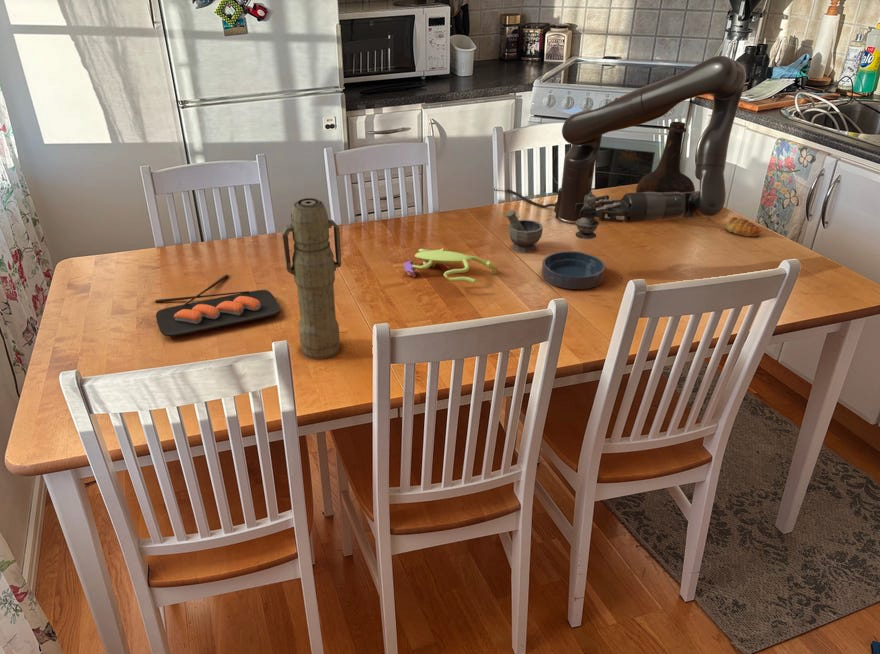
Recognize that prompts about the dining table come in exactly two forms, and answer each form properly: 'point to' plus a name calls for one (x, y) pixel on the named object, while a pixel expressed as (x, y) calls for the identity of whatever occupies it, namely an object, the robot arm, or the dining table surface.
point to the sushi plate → (215, 311)
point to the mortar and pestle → (523, 232)
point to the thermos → (314, 276)
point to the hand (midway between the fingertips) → (578, 210)
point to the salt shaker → (587, 220)
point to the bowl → (573, 270)
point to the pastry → (742, 227)
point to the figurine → (445, 258)
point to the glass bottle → (668, 167)
